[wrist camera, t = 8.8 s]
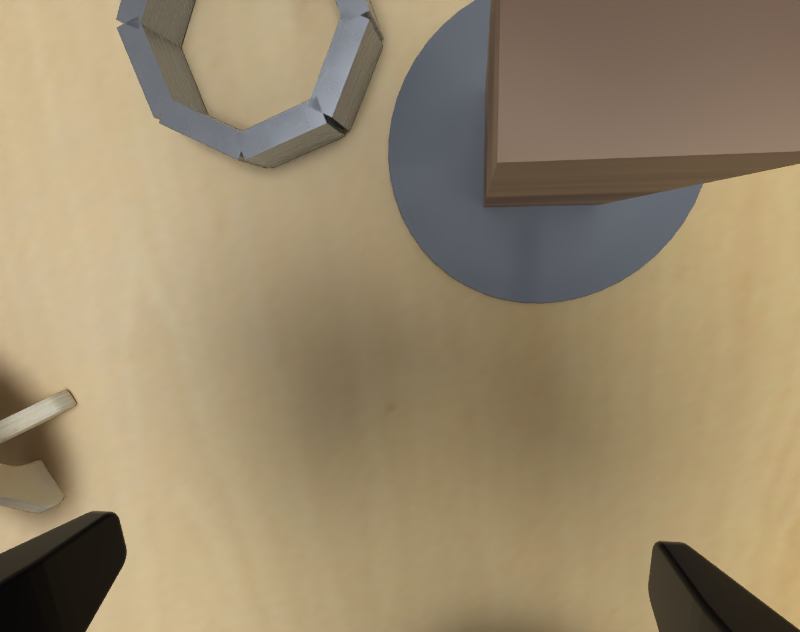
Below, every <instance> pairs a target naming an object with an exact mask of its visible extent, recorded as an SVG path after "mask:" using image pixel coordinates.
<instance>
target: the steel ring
mask: <svg viewBox="0 0 800 632" xmlns="http://www.w3.org/2000/svg"><path fill="white" fill-rule="evenodd" d="M194 2H195V0H121V3H120V7H119V11H118V14H117V18H116V20H118V21H120V22H121V23H123V24H122V25H121V26H119V27H117V30H118V32H119V34H120V37H121V39H122V42H123V44H124V46H125V49H126V51H127V54H128V56H129V58H130V61H131V63H132V66H133V68H134V70H135V73H136V75H137V78H138V80H139V83H140V85H141V87H142V90H143V92H144V95H145V97H146V99H147V102H148V104H149V107H150V109H151V111H152V114H153V116H154V118H157V119H160V122H159V123H160V124H162V125H164V126H166V127H169V128H171V129H173V130H175V131H177V132H179V133H181V134H184V135H186V136H188V137H190V138H192V139H194V140H196V141H198V142H201V143H203V144H205V145H207V146H209V147H211V148H213V149H216V150H218V151H220V152H222V153H224V154H226V155H228V156H231V157H233V158H235V159H237V160H240V161H243V162H247V163H250V164H254V165H257V166H260V167H264V168H266V167H270V168H274V167H276V166H278V165H281V164H283V163H285V162H287V161H290V160H292V159H294V158H296V157H299V156H301V155H303V154H305V153H308V152H310V151H312V150H315V149H317V148H319V147H321V146H324V145H326V144H328V143H330V142H333V141H335V140H337V139H339V138H342V137H344V136H345V135H344V133H343V130H342V128H344V129H346V130H348V131H350V129H351V126H352V124H353V121H354V119H355V116H356V114H357V111H358V108H359V106H360V103H361V101H362V98H363V96H364V93H365V91H366V88H367V86H368V83H369V81H370V78H371V76H372V73H373V70H374V68H375V65H376V63H377V60H378V58H379V55H380V53H381V50H382V48H383V45H382V43H381V41H380V40H381V39H383V36H382V33H381V31H380V28H379V25H378V22H377V19H376V16H375V14H374V11H373V8H372V5H371V2H370V0H336V3H337V6H338V8H339V11H340V14H341V18H340V20H339V23H338V26H337V28H336V31H335V34H334V37H333V39H332V42H331V45H330V47H329V50H328V53H327V56H326V58H325V61H324V64H323V66H322V69H321V72H320V74H319V77H318V80H317V83H316V85H315V88H314V91H313V93H312V96H311V99H310V100H308V101H306V102H303V103H301V104H299V105H297V106H295V107H293V108H291V109H289V110H286V111H284V112H282V113H280V114H278V115H276V116H274V117H271V118H269V119H267V120H265V121H263V122H261V123H259V124H256V125H254V126H252V127H250V128H248V129H246V130H244V131H240V130H238V129H236V128H234V127H232V126H230V125H228V124H225V123H223V122H221V121H219V120H217V119H215V118H212V117H210V116H208V114H207V111H206V109H205V106H204V104H203V101H202V99H201V96H200V94H199V91H198V89H197V86H196V84H195V81H194V79H193V76H192V74H191V71H190V69H189V66H188V64H187V61H186V59H185V56H184V54H183V51H182V49H181V45H182V42H183V39H184V35H185V32H186V29H187V25H188V22H189V19H190V15H191V12H192V9H193V5H194Z"/></svg>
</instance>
